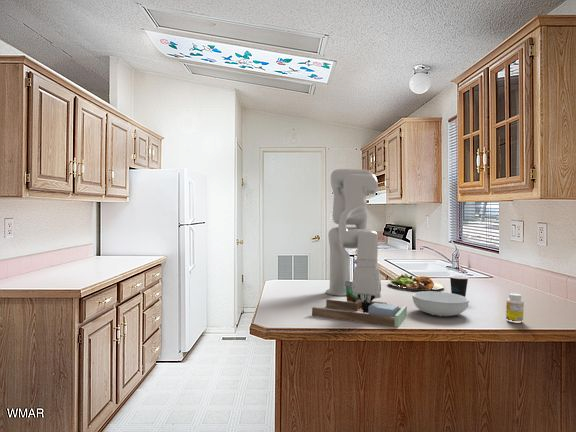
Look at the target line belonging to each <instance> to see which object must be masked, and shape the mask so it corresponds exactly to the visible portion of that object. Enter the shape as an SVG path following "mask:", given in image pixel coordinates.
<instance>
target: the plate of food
mask: <svg viewBox="0 0 576 432" xmlns="http://www.w3.org/2000/svg"><path fill="white" fill-rule="evenodd" d="M388 283H389V285H392V286H394V287H398V285H400V287H401V288H400V287H399V288H400V289H404V288H403V287H406V288H407V289H409V290H411V289H412V290H415V291H416V290H418V291H433V290H434V291H435V290H440V289H441V290H442V289H444V287H445V284H444V283H442V282H439V281H435V280H432V279H431V277H429V276H425V275H421V276H415V277H414V276H413V275H410V276H409V275H408V274H407V273H405V274H403V273H402V274H401V275H399V276H397V278H394V279H389V280H388ZM433 286H436V287H437V289H436V288H434V287H433ZM432 288H433V290H431V289H432ZM419 289H420V290H419Z"/></svg>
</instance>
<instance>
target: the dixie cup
mask: <svg viewBox="0 0 576 432" xmlns="http://www.w3.org/2000/svg"><path fill="white" fill-rule="evenodd" d="M449 279H450V293H452V294H457V295H461V296H464V297H466V294H467V287H468V280H469V277H468V276H466V275H459V274H456V275H455V274H453V275H449Z"/></svg>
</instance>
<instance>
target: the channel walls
mask: <svg viewBox="0 0 576 432" xmlns="http://www.w3.org/2000/svg"><path fill="white" fill-rule="evenodd" d="M374 303H381V304H387V303H388V302H382V301H377V300H375V301H373V300H372V301H371V305H372V304H374ZM361 308H362V302H361V300H358V301H356V302H355V303H354V302H347V301H344V300H334V299H326V300H325V308H323V307H316V306H313V307H311V317H318V318H326V319H333V320H340V321H349V322H357V323H363V324H370V323H371V324H372V325H378V324H379V325H378V326H385V325H386V326H387V327H395V317H388V316H380V315H372V314H368V313H363V312H358V310H360V309H361ZM401 308H402V307H399V310H400V309H401ZM395 328H396V327H395Z"/></svg>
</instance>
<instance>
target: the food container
mask: <svg viewBox="0 0 576 432" xmlns="http://www.w3.org/2000/svg"><path fill="white" fill-rule="evenodd" d="M352 282H353V281H351V280H350V281H346V282H345V285H344V286H346V302H354V303H355V302H356V301H358V300H360V299H359V297H357V296H354V295H353V291H352ZM367 299H368V295H366V301H367Z"/></svg>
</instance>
